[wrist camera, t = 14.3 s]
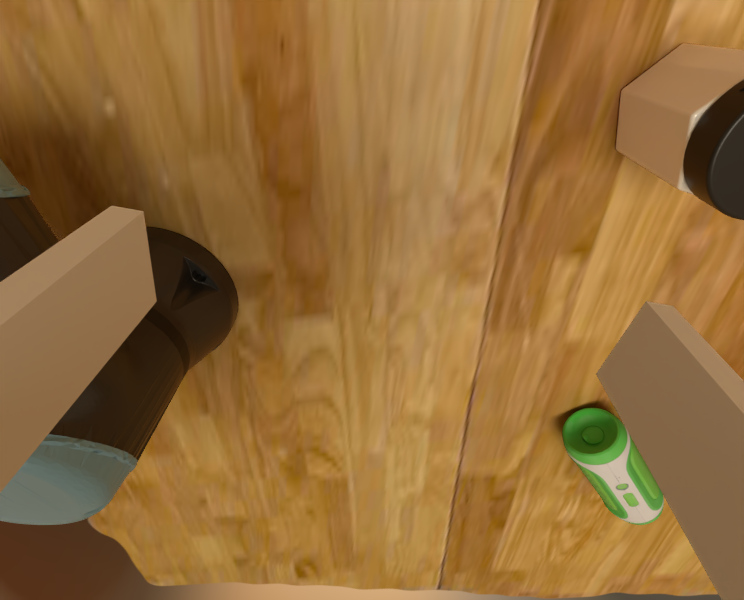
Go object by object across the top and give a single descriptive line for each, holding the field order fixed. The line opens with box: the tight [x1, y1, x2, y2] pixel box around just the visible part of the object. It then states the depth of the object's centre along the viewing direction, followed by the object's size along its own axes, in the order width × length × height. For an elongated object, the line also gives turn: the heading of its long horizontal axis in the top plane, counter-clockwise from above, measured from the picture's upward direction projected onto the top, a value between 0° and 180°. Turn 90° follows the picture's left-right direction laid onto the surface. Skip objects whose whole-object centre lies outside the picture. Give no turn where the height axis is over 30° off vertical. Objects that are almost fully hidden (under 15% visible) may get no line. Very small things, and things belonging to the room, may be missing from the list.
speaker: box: [562, 408, 664, 525], centre depth 52 cm, size 18×7×8 cm, turn 36°
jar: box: [616, 43, 744, 220], centre depth 27 cm, size 9×8×12 cm
